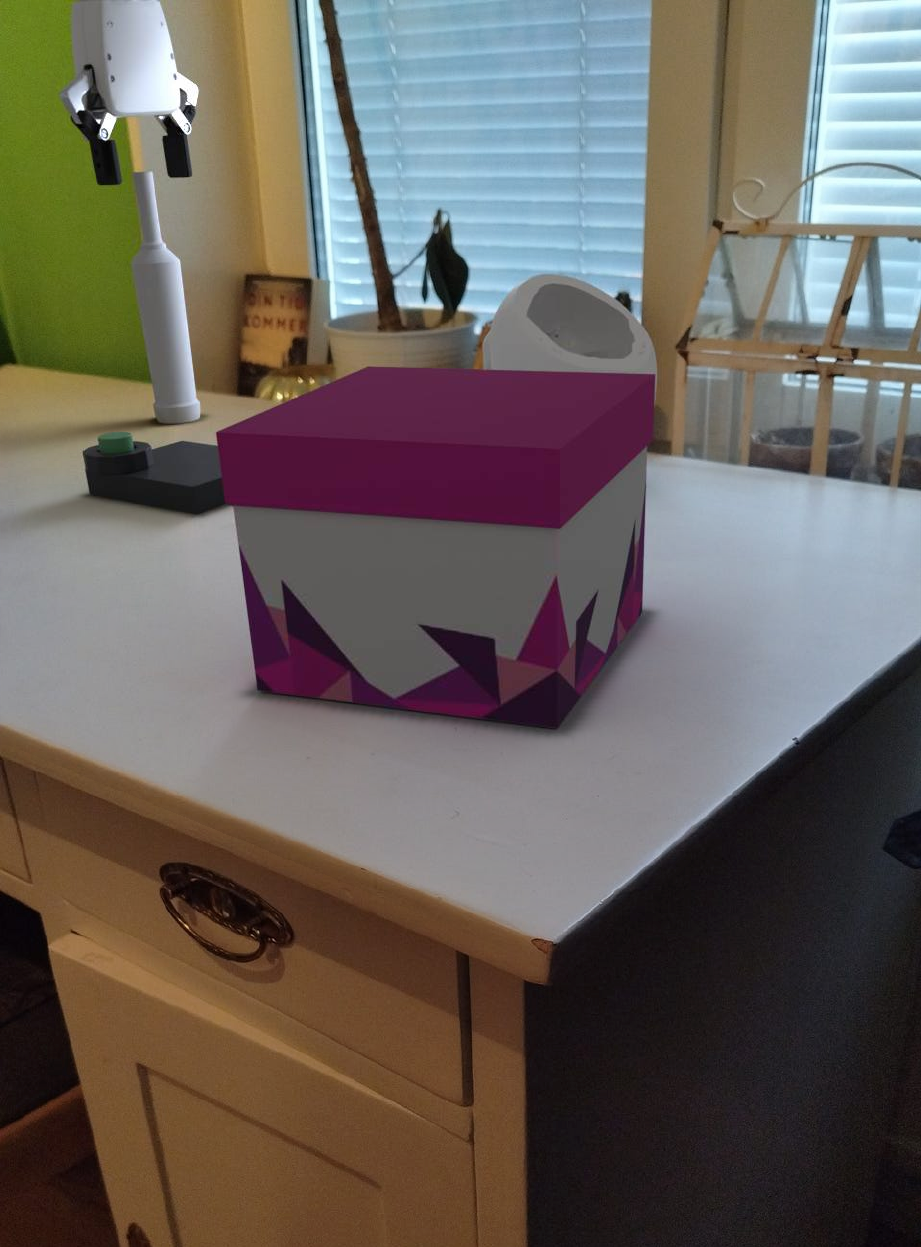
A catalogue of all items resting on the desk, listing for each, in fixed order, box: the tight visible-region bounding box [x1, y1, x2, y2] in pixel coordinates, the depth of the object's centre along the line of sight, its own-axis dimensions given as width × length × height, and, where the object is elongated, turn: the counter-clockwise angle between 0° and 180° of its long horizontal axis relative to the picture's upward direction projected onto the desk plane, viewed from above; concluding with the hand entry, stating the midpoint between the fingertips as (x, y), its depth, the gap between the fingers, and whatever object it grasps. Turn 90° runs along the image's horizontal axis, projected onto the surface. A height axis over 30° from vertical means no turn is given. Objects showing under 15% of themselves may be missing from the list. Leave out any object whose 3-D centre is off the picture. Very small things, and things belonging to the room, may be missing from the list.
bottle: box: [130, 170, 201, 425], centre depth 137 cm, size 5×5×25 cm
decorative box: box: [215, 365, 656, 729], centre depth 75 cm, size 19×19×15 cm
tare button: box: [97, 431, 134, 454], centre depth 113 cm, size 3×3×2 cm
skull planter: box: [481, 273, 658, 406], centre depth 112 cm, size 14×20×19 cm
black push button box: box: [82, 440, 226, 515], centre depth 115 cm, size 14×13×4 cm
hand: (146, 181), depth 131 cm, fingers open, 9 cm apart
